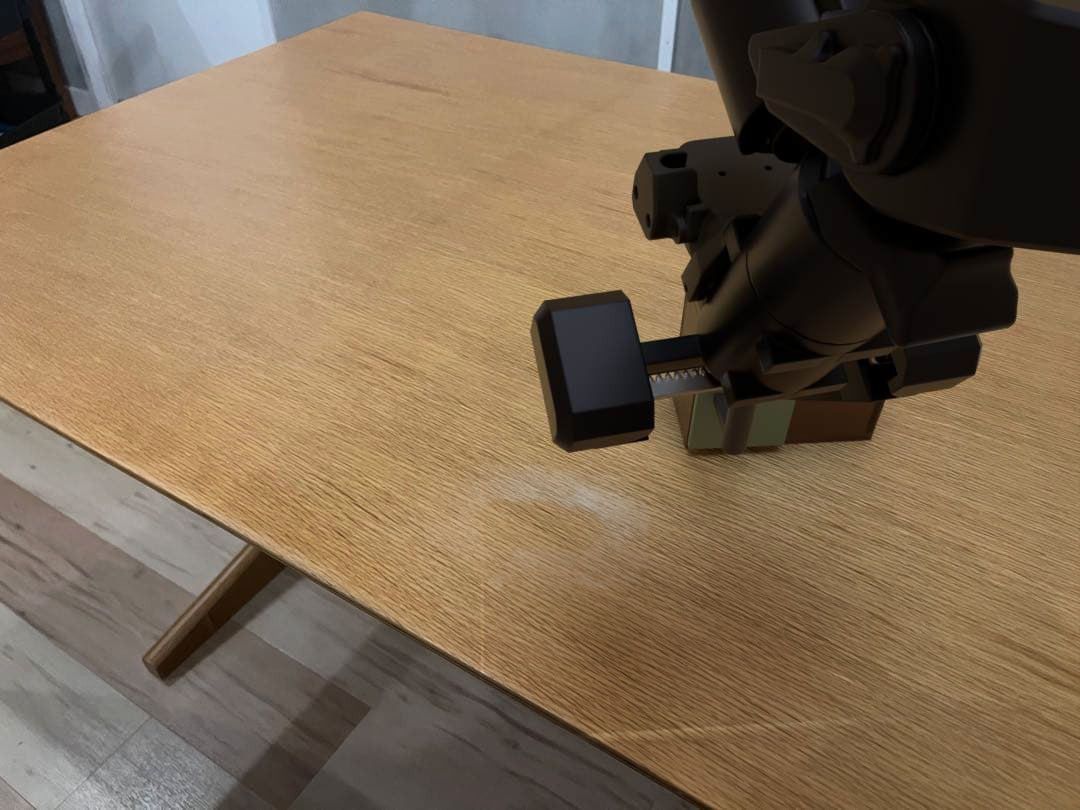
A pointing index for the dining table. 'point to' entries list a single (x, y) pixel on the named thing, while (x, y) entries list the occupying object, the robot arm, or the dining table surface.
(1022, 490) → the dining table surface
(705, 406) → the door
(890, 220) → the robot arm
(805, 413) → the cabinet
